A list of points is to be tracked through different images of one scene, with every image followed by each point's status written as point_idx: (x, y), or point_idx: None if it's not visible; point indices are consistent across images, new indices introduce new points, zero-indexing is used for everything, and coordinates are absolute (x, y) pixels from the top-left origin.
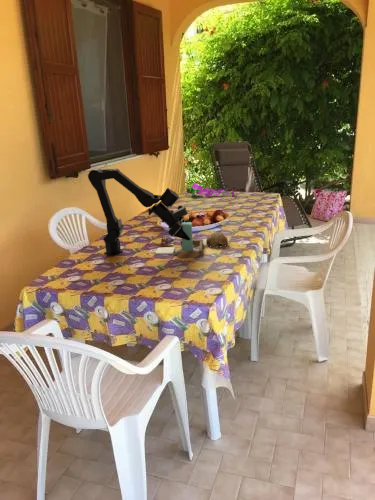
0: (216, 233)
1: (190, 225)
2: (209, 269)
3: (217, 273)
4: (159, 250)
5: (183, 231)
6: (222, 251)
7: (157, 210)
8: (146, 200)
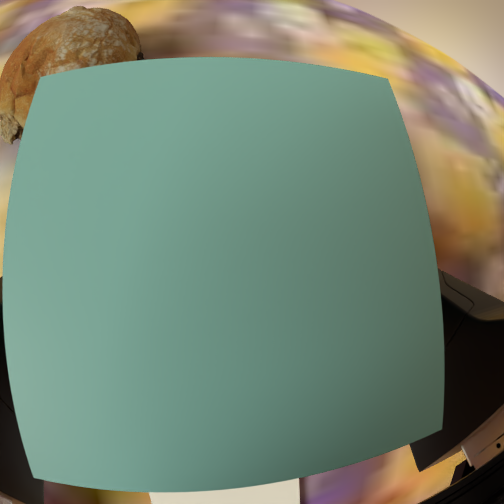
0: (71, 25)
1: (380, 109)
2: (485, 151)
3: (498, 130)
4: None
5: (493, 297)
6: (231, 56)
7: None
8: None
